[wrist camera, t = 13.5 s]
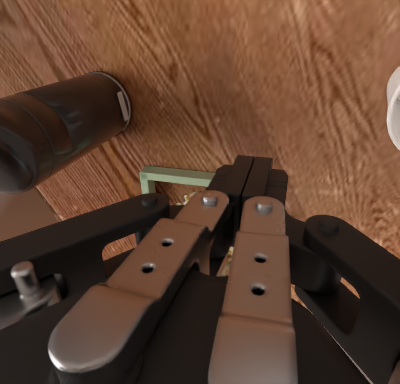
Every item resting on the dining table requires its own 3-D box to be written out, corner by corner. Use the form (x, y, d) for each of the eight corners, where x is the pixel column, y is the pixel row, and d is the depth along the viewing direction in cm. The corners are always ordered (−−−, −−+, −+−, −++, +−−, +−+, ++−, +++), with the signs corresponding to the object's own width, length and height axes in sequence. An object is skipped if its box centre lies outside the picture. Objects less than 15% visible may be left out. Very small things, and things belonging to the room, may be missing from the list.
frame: (158, 268, 61) (152, 277, 59) (146, 165, 50) (139, 172, 48) (242, 284, 57) (240, 294, 54) (248, 176, 46) (245, 183, 44)
